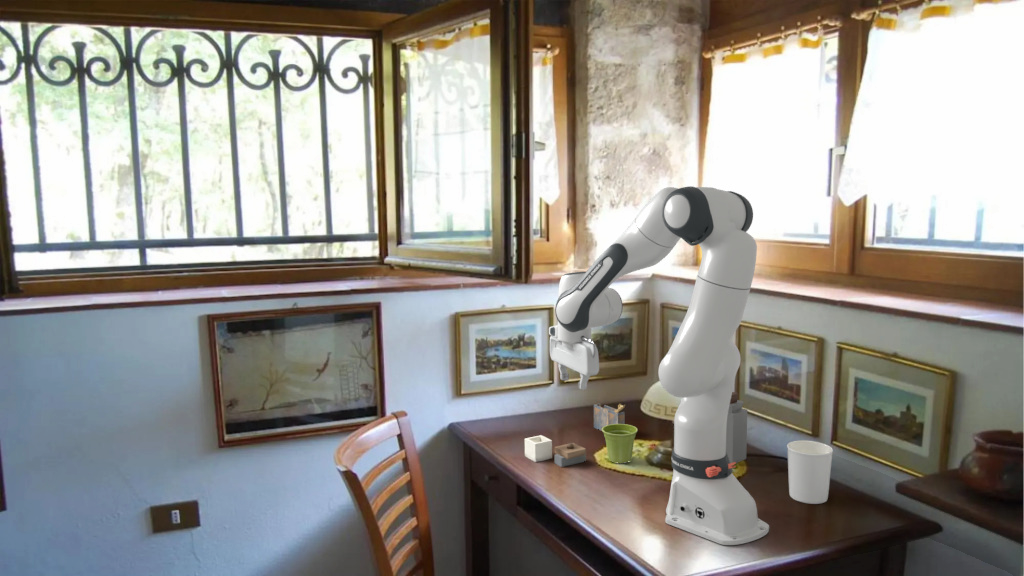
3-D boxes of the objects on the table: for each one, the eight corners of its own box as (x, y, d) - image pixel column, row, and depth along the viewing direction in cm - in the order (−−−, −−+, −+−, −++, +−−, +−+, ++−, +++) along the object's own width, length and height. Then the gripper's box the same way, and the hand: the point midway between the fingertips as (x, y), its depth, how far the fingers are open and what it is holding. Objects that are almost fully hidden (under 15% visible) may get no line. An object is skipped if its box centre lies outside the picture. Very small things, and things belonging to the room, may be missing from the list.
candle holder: (776, 493, 171) (777, 443, 170) (808, 486, 175) (809, 437, 174) (808, 508, 162) (810, 457, 161) (840, 500, 166) (842, 450, 165)
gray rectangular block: (585, 461, 195) (585, 452, 194) (561, 467, 191) (561, 458, 190) (578, 457, 197) (578, 449, 197) (554, 463, 193) (554, 454, 193)
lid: (586, 454, 193) (586, 445, 192) (567, 459, 190) (567, 449, 189) (572, 448, 198) (572, 439, 197) (554, 452, 195) (554, 443, 194)
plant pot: (627, 469, 188) (627, 436, 187) (595, 461, 194) (595, 430, 193) (643, 458, 196) (643, 427, 195) (612, 452, 201) (612, 421, 200)
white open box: (552, 458, 197) (551, 440, 197) (535, 462, 195) (535, 444, 194) (541, 452, 202) (541, 435, 201) (524, 456, 199) (524, 438, 199)
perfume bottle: (732, 464, 190) (733, 397, 188) (710, 458, 195) (711, 393, 193) (746, 458, 195) (747, 393, 192) (724, 452, 200) (725, 388, 197)
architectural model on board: (625, 436, 216) (625, 404, 214) (617, 438, 214) (617, 406, 213) (601, 427, 225) (601, 396, 224) (593, 429, 224) (593, 398, 222)
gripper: (605, 339, 181) (604, 393, 183) (566, 325, 200) (565, 374, 202) (584, 341, 179) (582, 396, 181) (545, 327, 197) (545, 376, 199)
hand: (573, 384), depth 191 cm, fingers open, 8 cm apart
